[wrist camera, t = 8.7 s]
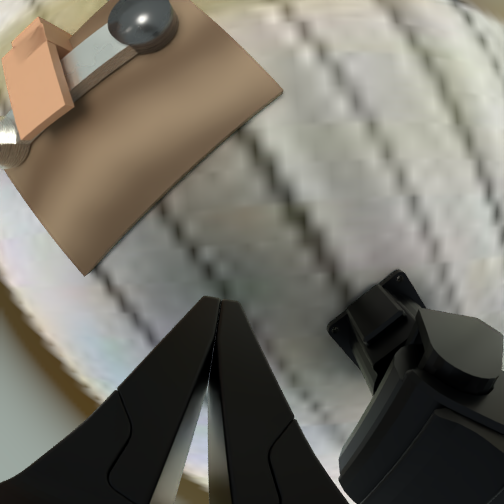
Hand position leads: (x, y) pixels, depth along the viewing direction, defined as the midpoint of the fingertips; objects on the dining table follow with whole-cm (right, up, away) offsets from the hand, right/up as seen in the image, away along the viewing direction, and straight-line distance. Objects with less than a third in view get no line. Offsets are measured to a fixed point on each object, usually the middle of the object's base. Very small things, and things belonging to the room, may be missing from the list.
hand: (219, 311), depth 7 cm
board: (-8, +10, +10) cm, 16 cm away
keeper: (-12, +13, +9) cm, 19 cm away
